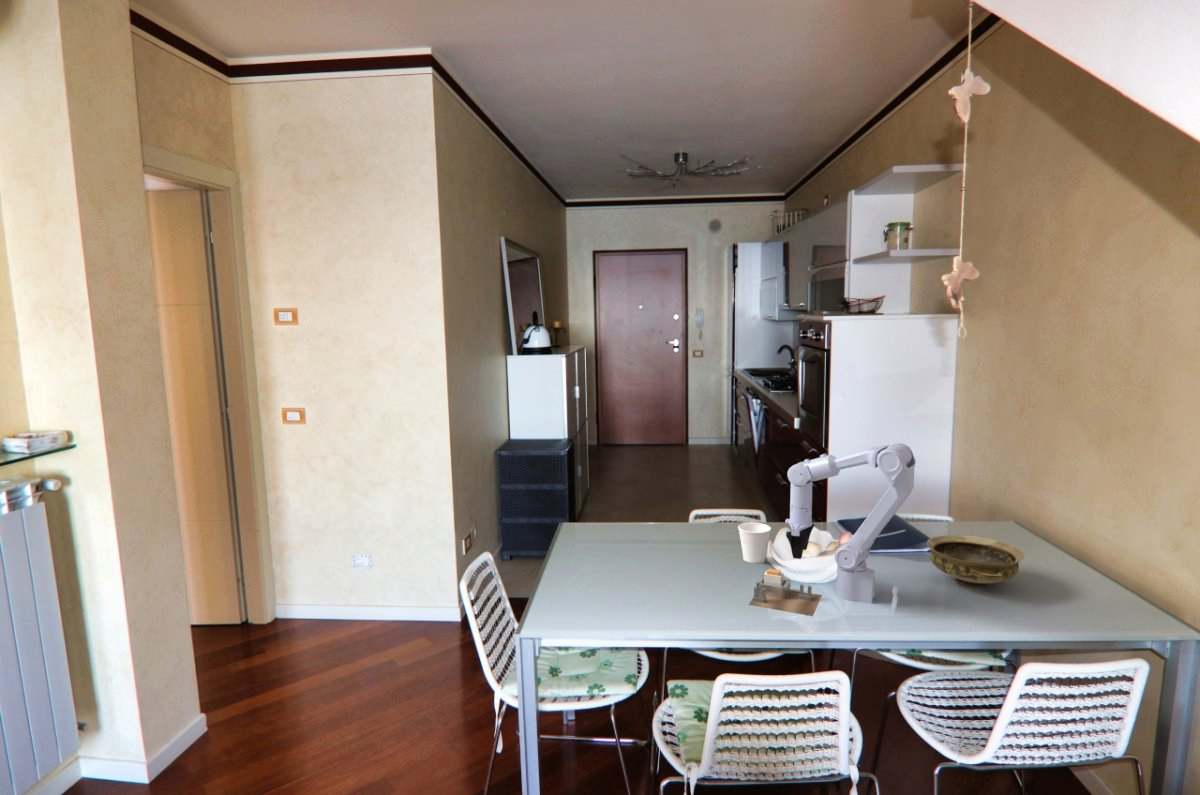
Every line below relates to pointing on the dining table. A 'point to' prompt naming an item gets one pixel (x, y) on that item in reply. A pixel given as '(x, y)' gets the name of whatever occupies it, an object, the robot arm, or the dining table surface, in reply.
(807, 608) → the board
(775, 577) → the connector
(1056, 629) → the dining table surface
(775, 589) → the end holder
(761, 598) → the clip
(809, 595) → the clip
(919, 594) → the dining table surface
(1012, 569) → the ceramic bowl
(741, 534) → the cup
